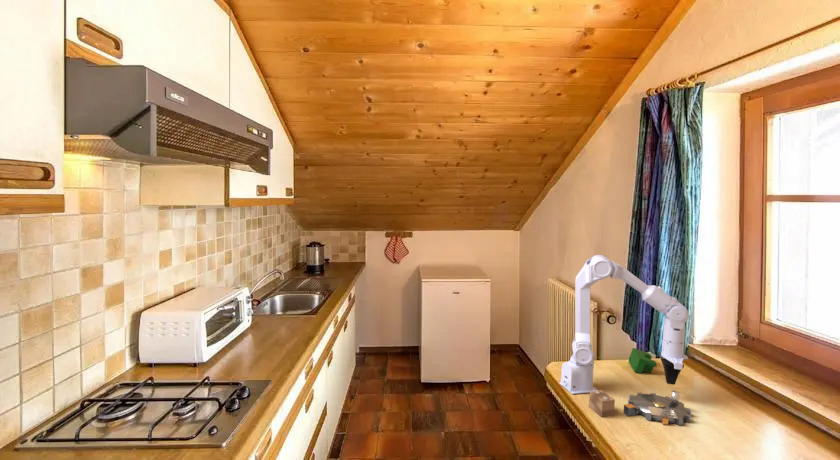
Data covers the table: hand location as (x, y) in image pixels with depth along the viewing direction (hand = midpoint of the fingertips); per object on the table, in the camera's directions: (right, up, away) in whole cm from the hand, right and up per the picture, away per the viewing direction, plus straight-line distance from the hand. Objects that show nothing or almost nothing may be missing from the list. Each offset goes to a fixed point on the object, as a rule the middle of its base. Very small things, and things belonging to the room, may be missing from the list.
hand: (670, 383), depth 132 cm
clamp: (+4, -4, +25) cm, 25 cm away
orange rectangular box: (-17, -6, -9) cm, 20 cm away
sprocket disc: (-7, -6, -6) cm, 11 cm away
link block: (-25, -6, -7) cm, 26 cm away
